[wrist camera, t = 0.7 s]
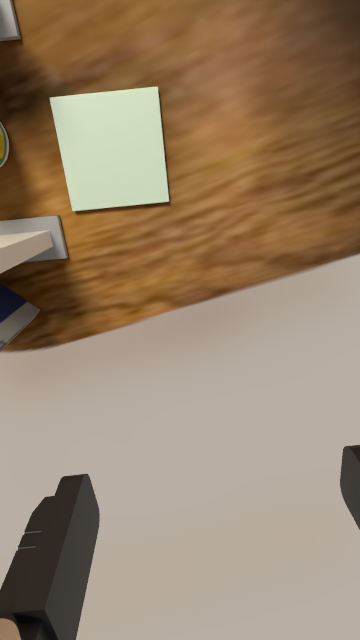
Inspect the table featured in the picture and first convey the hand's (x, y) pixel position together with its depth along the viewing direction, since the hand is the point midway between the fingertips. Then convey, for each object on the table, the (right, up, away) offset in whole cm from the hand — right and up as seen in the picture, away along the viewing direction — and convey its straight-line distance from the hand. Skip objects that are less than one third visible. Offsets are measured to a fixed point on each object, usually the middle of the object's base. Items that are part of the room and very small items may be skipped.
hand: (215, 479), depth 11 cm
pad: (-7, +20, +19) cm, 29 cm away
